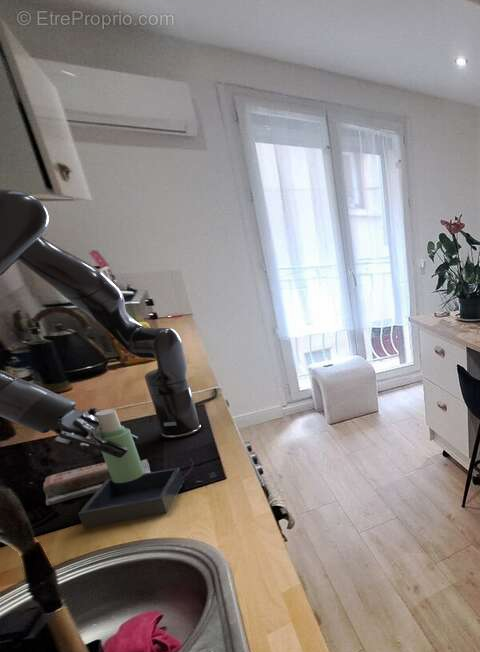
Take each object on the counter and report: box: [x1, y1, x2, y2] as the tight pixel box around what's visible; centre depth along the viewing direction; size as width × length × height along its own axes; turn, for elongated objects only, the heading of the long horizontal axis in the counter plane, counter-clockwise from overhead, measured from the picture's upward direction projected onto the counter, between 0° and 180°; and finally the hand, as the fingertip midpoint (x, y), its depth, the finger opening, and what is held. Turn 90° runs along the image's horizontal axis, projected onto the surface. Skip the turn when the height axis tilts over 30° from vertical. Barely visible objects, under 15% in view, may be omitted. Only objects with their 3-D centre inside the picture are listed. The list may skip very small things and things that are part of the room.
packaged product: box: [42, 458, 152, 506], centre depth 101 cm, size 18×5×10 cm
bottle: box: [96, 408, 144, 483], centre depth 89 cm, size 5×5×16 cm
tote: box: [77, 467, 184, 530], centre depth 94 cm, size 14×14×5 cm
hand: (129, 447), depth 90 cm, fingers closed on bottle, 5 cm apart
